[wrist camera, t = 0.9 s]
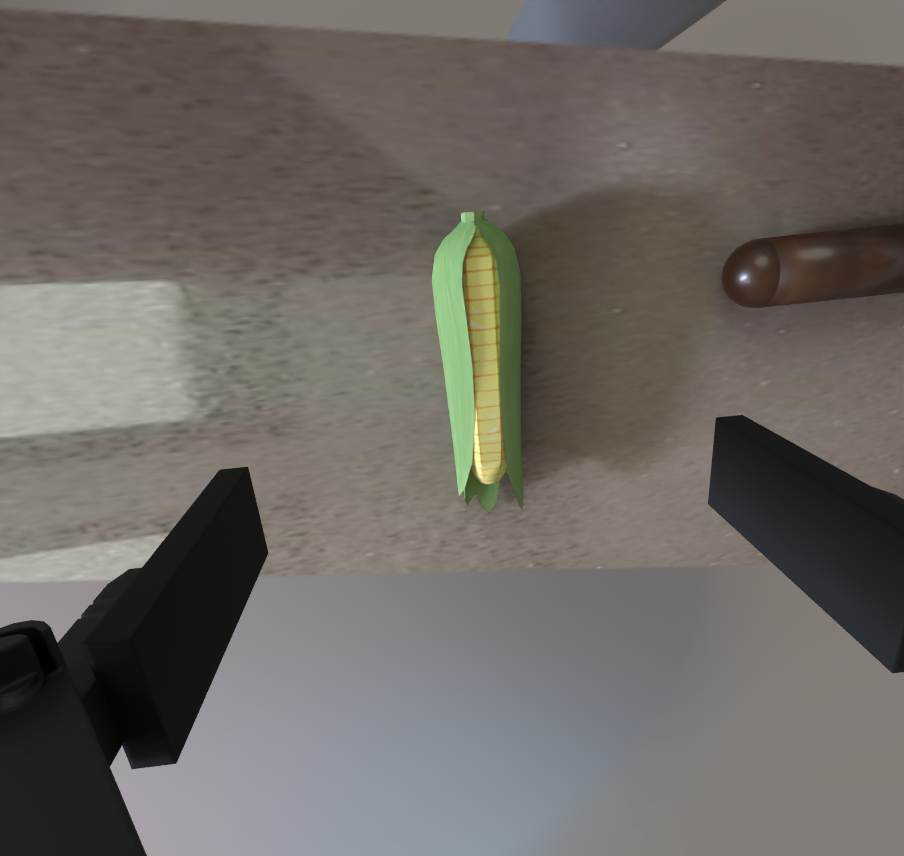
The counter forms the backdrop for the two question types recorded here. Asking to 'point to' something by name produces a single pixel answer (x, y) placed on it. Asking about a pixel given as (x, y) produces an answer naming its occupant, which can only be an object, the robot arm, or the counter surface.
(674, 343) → the counter surface
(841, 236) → the dark brown capsule
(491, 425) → the edible corn
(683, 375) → the counter surface
